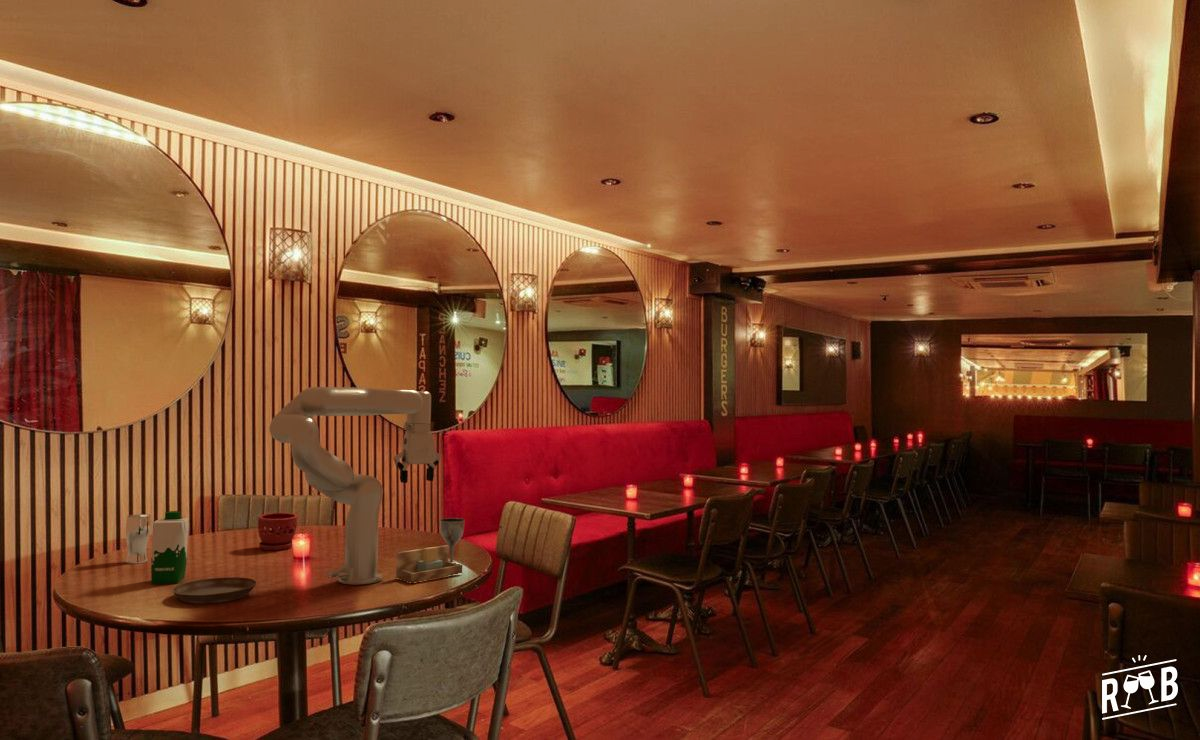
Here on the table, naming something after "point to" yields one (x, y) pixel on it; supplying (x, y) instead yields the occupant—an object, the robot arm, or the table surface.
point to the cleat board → (409, 571)
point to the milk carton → (169, 549)
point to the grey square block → (429, 560)
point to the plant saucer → (214, 590)
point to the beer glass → (137, 537)
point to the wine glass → (452, 532)
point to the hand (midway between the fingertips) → (417, 481)
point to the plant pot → (276, 530)
